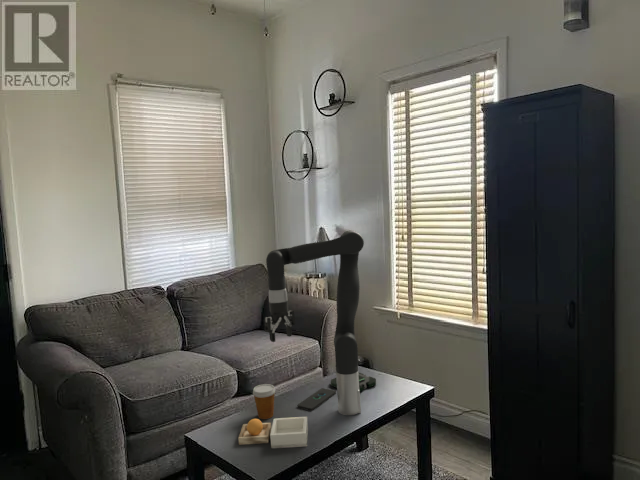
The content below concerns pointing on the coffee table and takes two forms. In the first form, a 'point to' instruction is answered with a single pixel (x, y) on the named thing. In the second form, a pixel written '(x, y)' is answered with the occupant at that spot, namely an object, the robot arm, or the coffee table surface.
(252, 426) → the ball
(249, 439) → the tray
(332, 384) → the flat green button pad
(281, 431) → the white square bin
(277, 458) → the coffee table surface
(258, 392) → the disposable coffee cup
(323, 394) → the smart home device
